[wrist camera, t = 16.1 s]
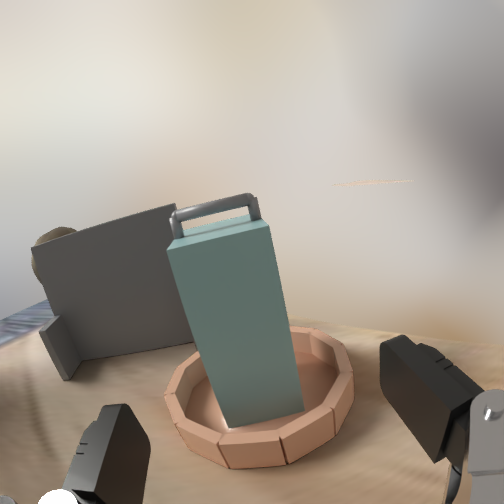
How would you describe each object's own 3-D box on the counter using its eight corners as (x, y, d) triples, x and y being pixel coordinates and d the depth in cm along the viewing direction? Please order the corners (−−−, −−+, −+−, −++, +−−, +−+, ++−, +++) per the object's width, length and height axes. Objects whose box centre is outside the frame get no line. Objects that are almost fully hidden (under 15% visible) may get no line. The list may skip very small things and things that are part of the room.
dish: (146, 424, 19) (132, 400, 18) (242, 341, 29) (236, 319, 28) (300, 495, 12) (294, 473, 11) (372, 358, 21) (371, 332, 21)
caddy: (305, 410, 18) (262, 193, 14) (228, 428, 17) (157, 218, 14) (288, 365, 23) (250, 189, 19) (225, 379, 23) (174, 207, 19)
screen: (211, 358, 27) (166, 207, 23) (63, 380, 26) (10, 256, 23) (211, 333, 32) (175, 202, 28) (78, 357, 31) (35, 245, 27)
